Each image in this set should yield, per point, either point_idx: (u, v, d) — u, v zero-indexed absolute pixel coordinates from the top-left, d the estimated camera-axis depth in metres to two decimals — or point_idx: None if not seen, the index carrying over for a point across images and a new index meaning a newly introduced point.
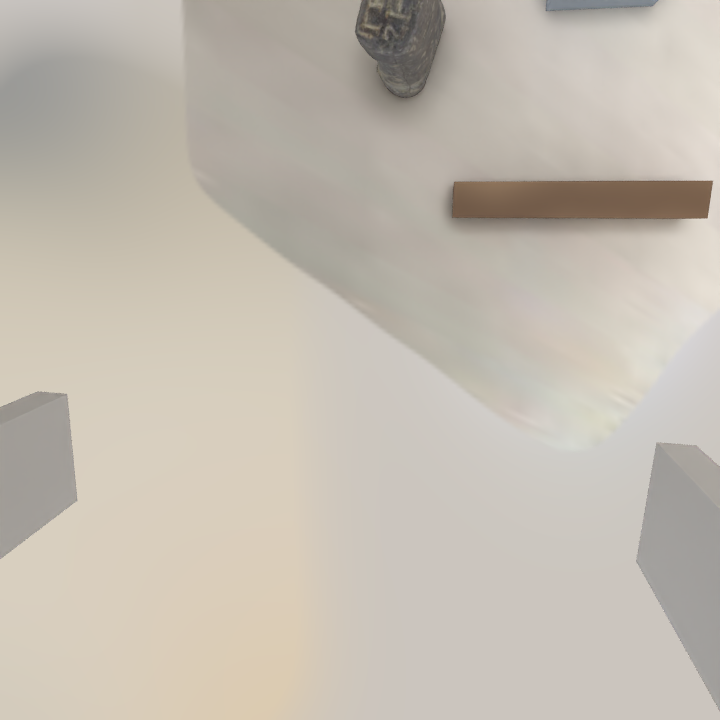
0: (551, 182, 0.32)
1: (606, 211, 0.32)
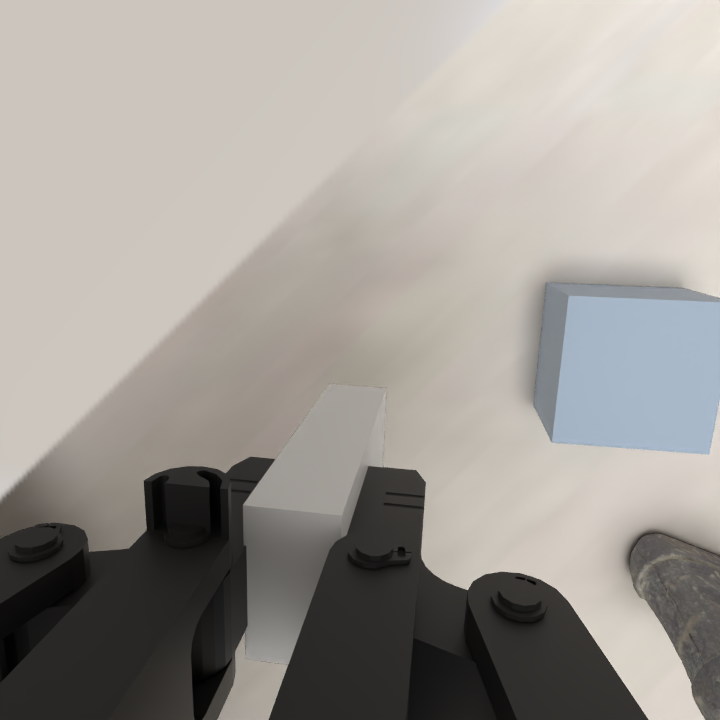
0: None
1: None
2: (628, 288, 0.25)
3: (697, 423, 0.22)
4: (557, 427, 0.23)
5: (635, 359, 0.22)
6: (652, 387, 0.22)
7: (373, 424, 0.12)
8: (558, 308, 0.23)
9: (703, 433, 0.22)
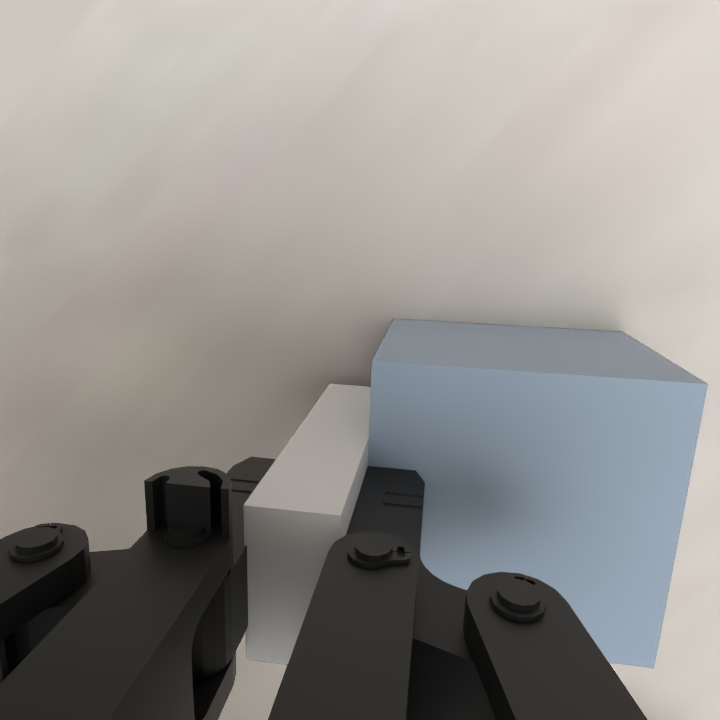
0: None
1: None
2: (522, 334, 0.14)
3: (630, 611, 0.11)
4: None
5: (506, 487, 0.11)
6: (542, 540, 0.11)
7: None
8: None
9: (641, 629, 0.11)
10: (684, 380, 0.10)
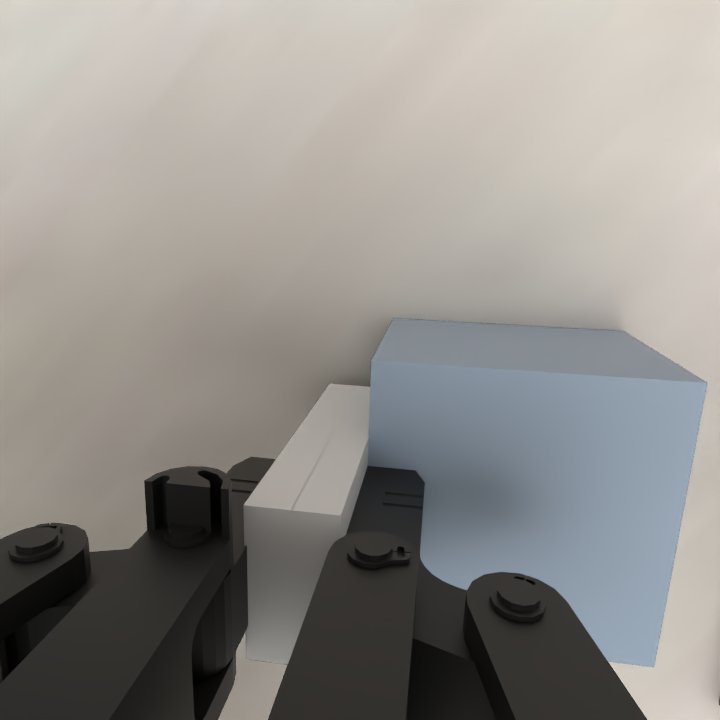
0: None
1: None
2: (522, 333, 0.14)
3: (630, 610, 0.11)
4: None
5: (506, 486, 0.11)
6: (541, 539, 0.11)
7: None
8: None
9: (642, 628, 0.11)
10: (684, 379, 0.10)
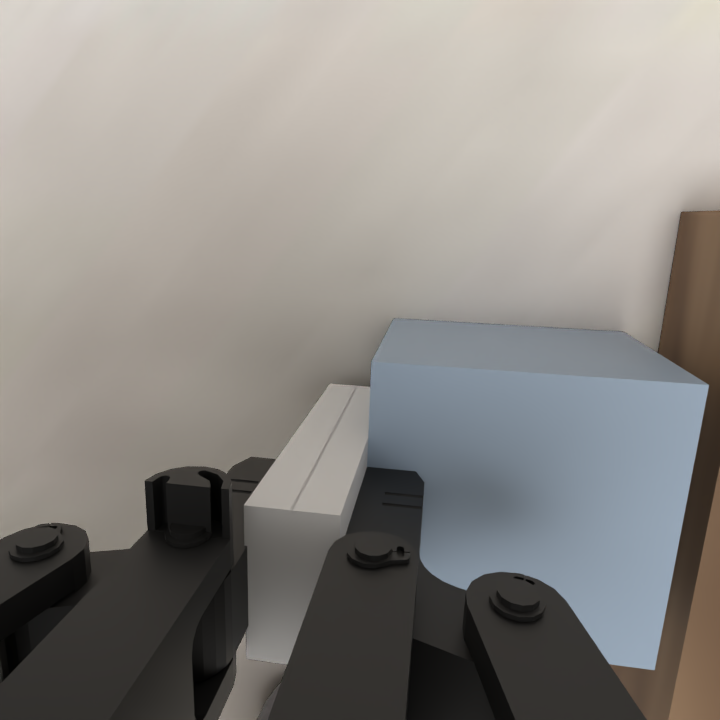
0: (690, 621, 0.12)
1: None
2: (522, 334, 0.14)
3: (630, 613, 0.11)
4: None
5: (506, 488, 0.11)
6: (541, 541, 0.11)
7: None
8: None
9: (641, 631, 0.11)
10: (685, 381, 0.10)
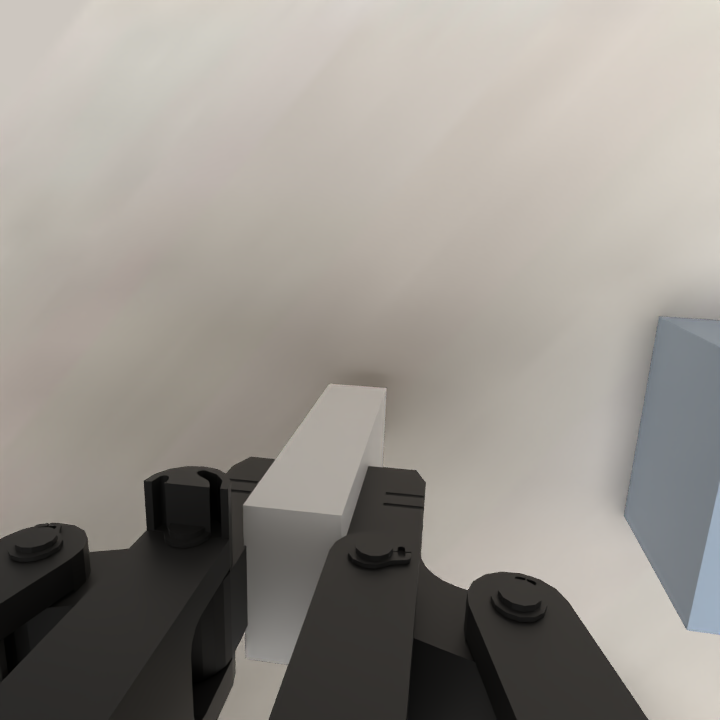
0: None
1: None
2: None
3: None
4: (700, 604, 0.12)
5: None
6: None
7: (373, 424, 0.12)
8: (703, 374, 0.12)
9: None
10: None
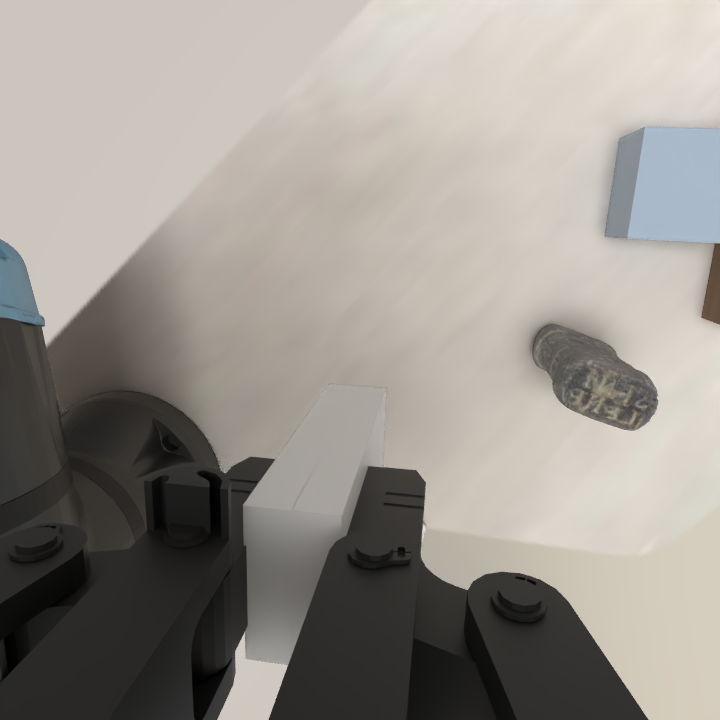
0: None
1: None
2: None
3: None
4: (631, 226, 0.33)
5: (690, 173, 0.31)
6: (701, 194, 0.32)
7: (373, 424, 0.12)
8: (633, 144, 0.33)
9: None
10: None
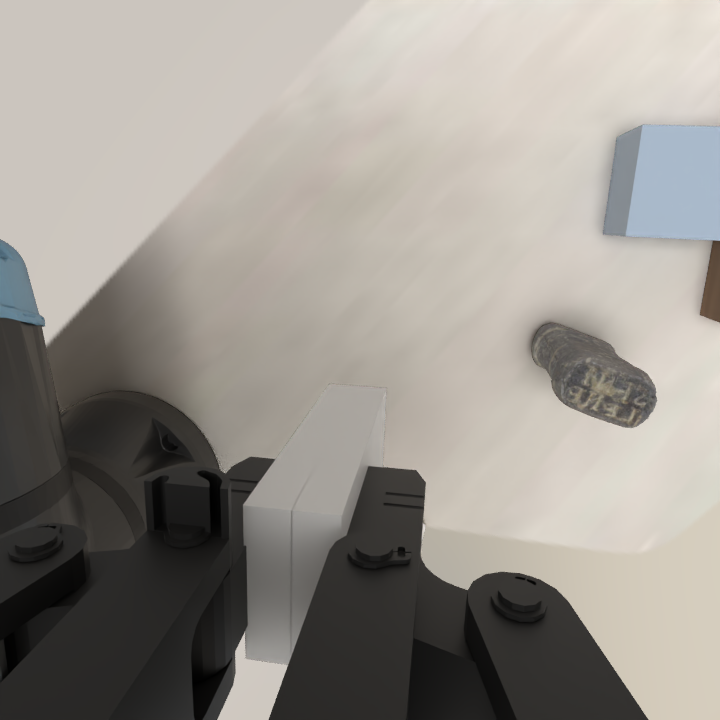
0: None
1: None
2: None
3: None
4: (630, 224, 0.33)
5: (687, 171, 0.32)
6: (699, 191, 0.32)
7: (373, 424, 0.12)
8: (631, 142, 0.33)
9: None
10: None
